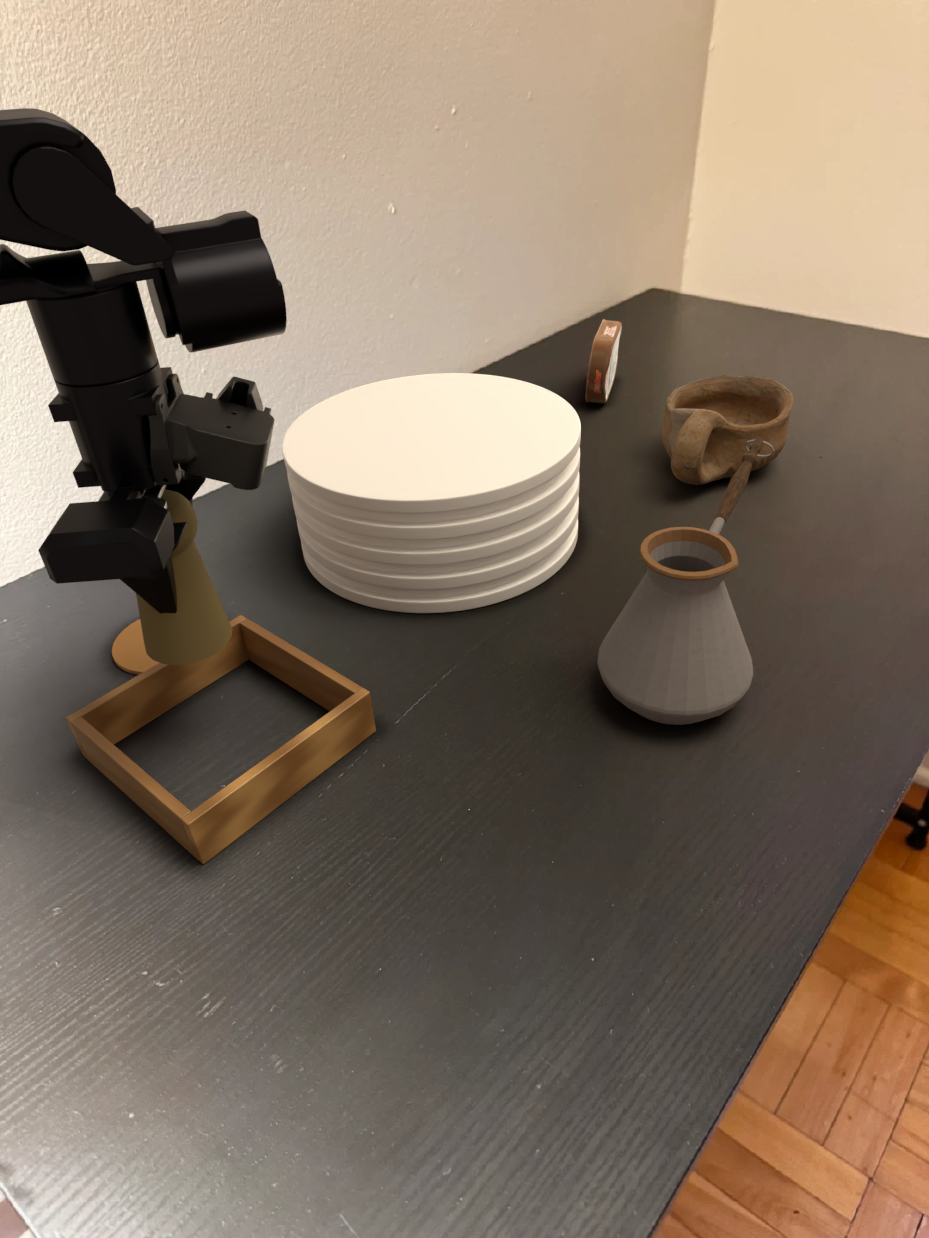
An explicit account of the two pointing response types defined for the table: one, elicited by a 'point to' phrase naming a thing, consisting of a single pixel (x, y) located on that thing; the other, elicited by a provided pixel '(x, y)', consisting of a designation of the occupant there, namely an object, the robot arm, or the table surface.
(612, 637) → the coffee pot
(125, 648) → the coaster
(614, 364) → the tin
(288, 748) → the wooden frame
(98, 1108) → the table surface
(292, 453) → the plate stack
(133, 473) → the robot arm
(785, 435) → the brown clay mug
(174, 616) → the pepper shaker
